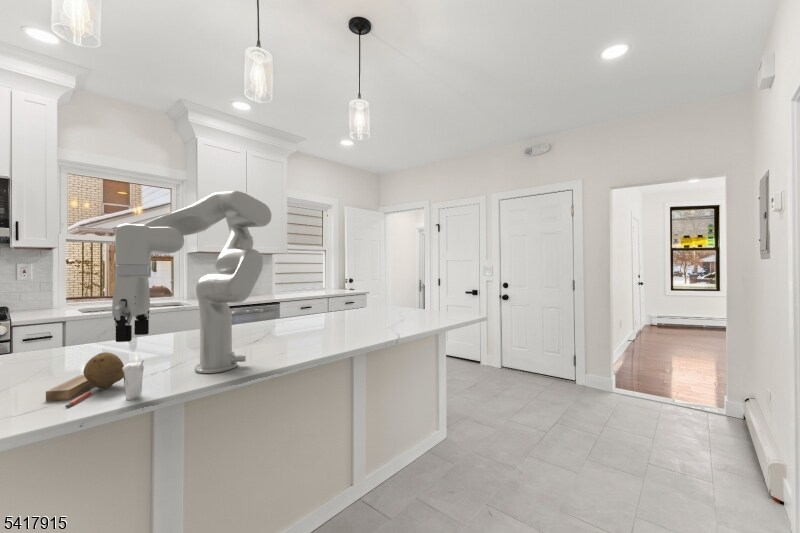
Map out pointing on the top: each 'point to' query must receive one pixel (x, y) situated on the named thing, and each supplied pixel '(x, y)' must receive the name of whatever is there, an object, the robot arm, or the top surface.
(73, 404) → the carpenter pencil
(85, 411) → the top surface
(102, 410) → the top surface
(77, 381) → the batten
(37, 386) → the top surface
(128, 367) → the milkshake
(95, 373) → the coconut
